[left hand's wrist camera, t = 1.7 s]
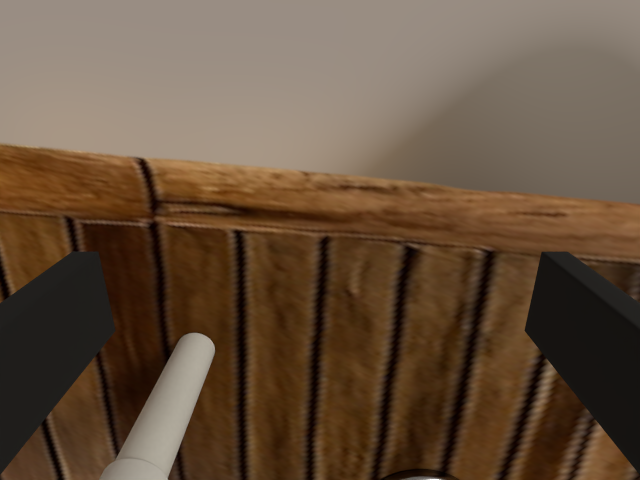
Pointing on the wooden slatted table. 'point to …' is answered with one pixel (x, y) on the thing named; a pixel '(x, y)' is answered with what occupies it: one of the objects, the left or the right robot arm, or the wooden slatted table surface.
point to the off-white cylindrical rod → (170, 404)
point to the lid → (132, 470)
